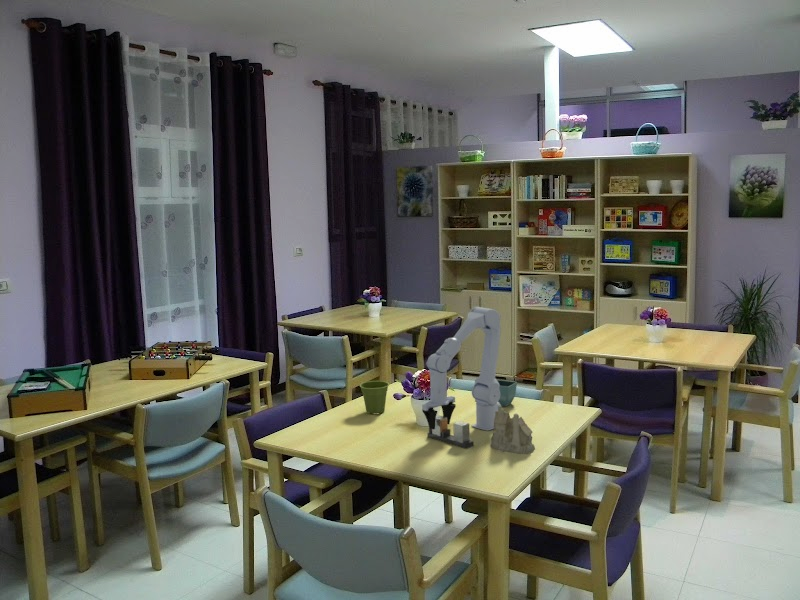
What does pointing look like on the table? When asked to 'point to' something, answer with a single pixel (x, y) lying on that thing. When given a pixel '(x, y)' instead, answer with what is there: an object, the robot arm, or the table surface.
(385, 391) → the plant pot
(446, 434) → the rail
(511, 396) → the flower pot
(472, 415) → the table surface
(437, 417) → the grey and orange block
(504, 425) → the ceramic cottage
